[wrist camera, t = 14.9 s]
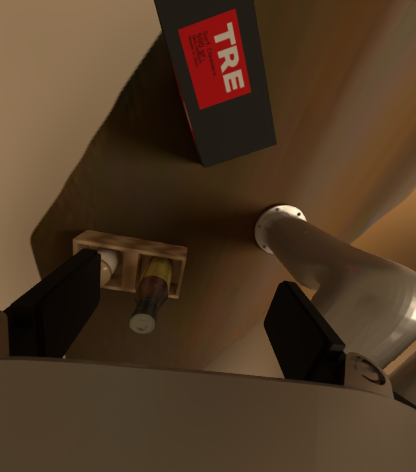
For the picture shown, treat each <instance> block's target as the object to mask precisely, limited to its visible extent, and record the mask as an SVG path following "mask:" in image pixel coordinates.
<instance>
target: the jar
mask: <svg viewBox="0 0 416 472" xmlns="http://www.w3.org/2000/svg"><path fill="white" fill-rule="evenodd" d="M97 252H98V253H99V254H101V278H100V287H101V286H104V285H105V284H106V283H107V282H108V281H109V280H110V278H111V276H112V274H113V273H114V271H115V270H116V269H117V267H118V266H119V264H120V263H121V261H122V253H121V252H120V250H115V249H109V248H103V247H100V248H99V249H98V250H97Z"/></svg>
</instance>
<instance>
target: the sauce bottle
mask: <svg viewBox="0 0 416 472" xmlns="http://www.w3.org/2000/svg"><path fill="white" fill-rule="evenodd" d="M172 272H173V265H172V262H171V260H170V259H169V258H164V257H158V256H154V257H152V258H151V259H150V261H149V262H148V264H147V266H146V268H145V270H144V273H143V275H142V277H141V279H140V281H139V284H138V287H137V289H136V292H135V302H136V303H137V305H136V309H135V311H134V313H133V314H132V316H131V318H130V322H129V324H130V327H131V329H132V330H133V331H135V332H137V333H142V334H143V333H149V332H151V331H152V330H153V329H154V327H155V325H156V321H157V317H156V316H157V312H158V310H159V308H160V307H161V306H162V305H163V304H164V303H165V301H166V300H167V298H168V293H169V288H170V283H171V278H172Z"/></svg>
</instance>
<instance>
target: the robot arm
mask: <svg viewBox="0 0 416 472" xmlns="http://www.w3.org/2000/svg"><path fill="white" fill-rule="evenodd" d="M276 208H277V209H276ZM275 209H276V210H275ZM297 213H298V214H297ZM258 225H259V226H258ZM254 236H255V240H256V242H257V244H258V245H259V246H260V248H261V249H263V250H264V251H266V252H268V253H270V254H274V255H275V256H276V257H277V258H278V259H279V261H280V262H281V263H282V264H283V265H284V267H285V268H286V269H287V270H288V271H289V273H290V274H291V275H292V276H293V277H294V279H295V280H296V281H297V282H298V283H300V284H301V285H303V286H305V287H307V288H309V289H312V290H316V291H317V292H316V293H315V294H314V296H313V297H312V299H311V301H310V300H309V299H308V298H307V296H306V295H305V294H304V293H303V292H302V290H301V289H300V288H299V287H298V285H297V284H296V283H295V282H289V281H283V282H282V283H280V284H279V285H278V288H277V290H276V293H275V295H274V298H273V300H272V303H271V305H270V308H269V310H268V313H267V315H266V318H265V320H264V327H265V330H266V333H267V335H268V338H269V340H270V343H271V345H272V348H273V350H274V353H275V355H276V357H277V360H278V362H279V365H280V367H281V370H282V372H283V375H284V377H285V379H283V378H273V377H263V376H254V375H244V374H234V373H223V372H213V371H202V370H192V369H181V368H171V367H160V366H149V365H137V364H126V363H115V362H104V361H92V360H78V359H64V358H63V356H64V355H65V353H66V352H67V350H68V349H69V347H70V346H71V344H72V343H73V341H74V340H75V338H76V337H77V335H78V334H79V332H80V331H81V330H82V328H83V327H84V325H85V324H86V322H87V321H88V319H89V318H90V316H91V315H92V313H93V312H94V310H95V309H96V307H97V306H98V304H99V300H100V278H101V254H99V253H98V252H97V250H92V249H86V248H83V249H81V250H80V251H79V252H78V253H76V254H75V255H74V256H72V257H71V258H70V259H69V260H67V261H66V262H65V263H63V264H62V265H61V266H60V267H58V268H57V269H56V270H54V271H53V272H52V273H51V274H49V275H48V276H47V277H45V278H44V279H43V280H42V281H40V282H39V283H38V284H36V285H35V286H34V287H33V288H31V289H30V290H29V291H27V292H26V293H25V294H24V295H22V296H21V297H20V298H18V299H17V300H16V301H15V302H13V303H12V304H11V305H10V306H9V307H8V308H6V309H5V310H4V311H3V312H2V311H0V472H416V351H415V352H414V353H413V354H411V355H410V356H409V357H408V358H407V359H406V360H405V361H404V362H403V363H402V364H401V365H399V366H398V367H397V368H396V369H395V370H394V371H393V372H392V373H391V374H389V375H386V373H385V372H384V371H383V369H384V368H385V367H386V366H387V365H388V364H390V363H391V362H392V361H394V360H395V359H396V358H397V357H398V356H399V355H401V353H403V352H404V351H405V350H406V349H407V348H408V347H409V346H410V345H411V344H412V343H413V342H414V341H415V340H416V272H414V271H413V270H411V269H409V268H407V267H405V266H403V265H401V264H398V263H396V262H393V261H391V260H388V259H385V258H382V257H379V256H376V255H373V254H370V253H367V252H365V251H362V250H360V249H357V248H355V247H353V246H351V245H349V244H347V243H345V242H343V241H341V240H339V239H337V238H335V237H334V236H332V235H330V234H328V233H326V232H325V231H323V230H321V229H319V228H317V227H316V226H314V225H312V224H310V223H308V222H307V221H306V219H305V216H304V215H303V213H302V212H301V211H300V210H299V209H297V208H296V207H294V206H291V205H287V204H280V205H275V206H273V207H270V208H269V209H267V210H266V211H265V212H263V213H262V214H261V216H260V217H259V218H258V220H257V222H256V225H255V229H254ZM263 245H264V246H263Z"/></svg>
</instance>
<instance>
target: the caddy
mask: <svg viewBox="0 0 416 472" xmlns="http://www.w3.org/2000/svg"><path fill="white" fill-rule="evenodd" d="M100 247H103V248H109V249H115V250H120V252H121V253H122V261H121V263H120V264H119V266H118V267H117V269H116V270H115V271H114V273H113V274H112V276H111V278H110V280H109V281H108V282H107V283H106V284H105V285H104V286H101V287H100V288H106V289H113V290H120V291H127V292H134V293H135V292H136V289H137V287H138V284H139V281H140V279H141V277H142V275H143V273H144V270H145V268H146V266H147V264H148V262H149V261H150V259H151V258H152V257H154V256H158V257H164V258H169V259H170V260H171V262H172V265H173V272H172V278H171V283H170V288H169V293H168V297H170V298H177V299H178V298H179V293H180V288H181V283H182V278H183V273H184V268H185V263H186V257H187V248H188V247H184V246H178V245H172V244H167V243H161V242H155V241H149V240H144V239H138V238H132V237H126V236H121V235H115V234H109V233H103V232H98V231H92V230H86V231H84V232H83V233H81V234H80V235H78V236H77V237H75V238H73V256H74V255H75V254H76V253H78V252H79V251H80V250H81V249H83V248H86V249H92V250H98V249H99V248H100Z"/></svg>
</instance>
